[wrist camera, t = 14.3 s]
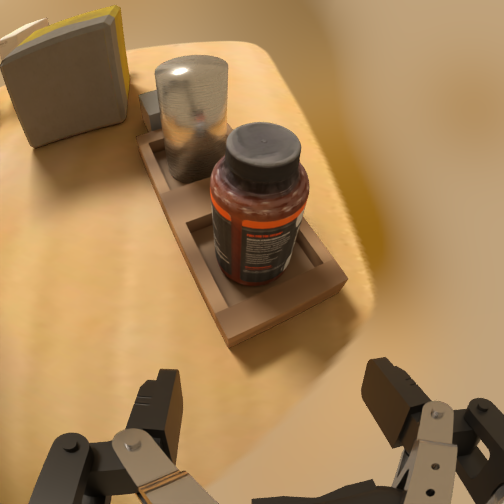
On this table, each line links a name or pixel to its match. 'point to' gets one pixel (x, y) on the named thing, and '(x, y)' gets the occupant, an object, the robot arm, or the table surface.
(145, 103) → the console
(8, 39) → the supplement box
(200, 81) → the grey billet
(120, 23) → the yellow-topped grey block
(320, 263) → the brown wooden tray
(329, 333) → the table surface
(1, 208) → the table surface
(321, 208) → the table surface
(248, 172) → the supplement bottle
